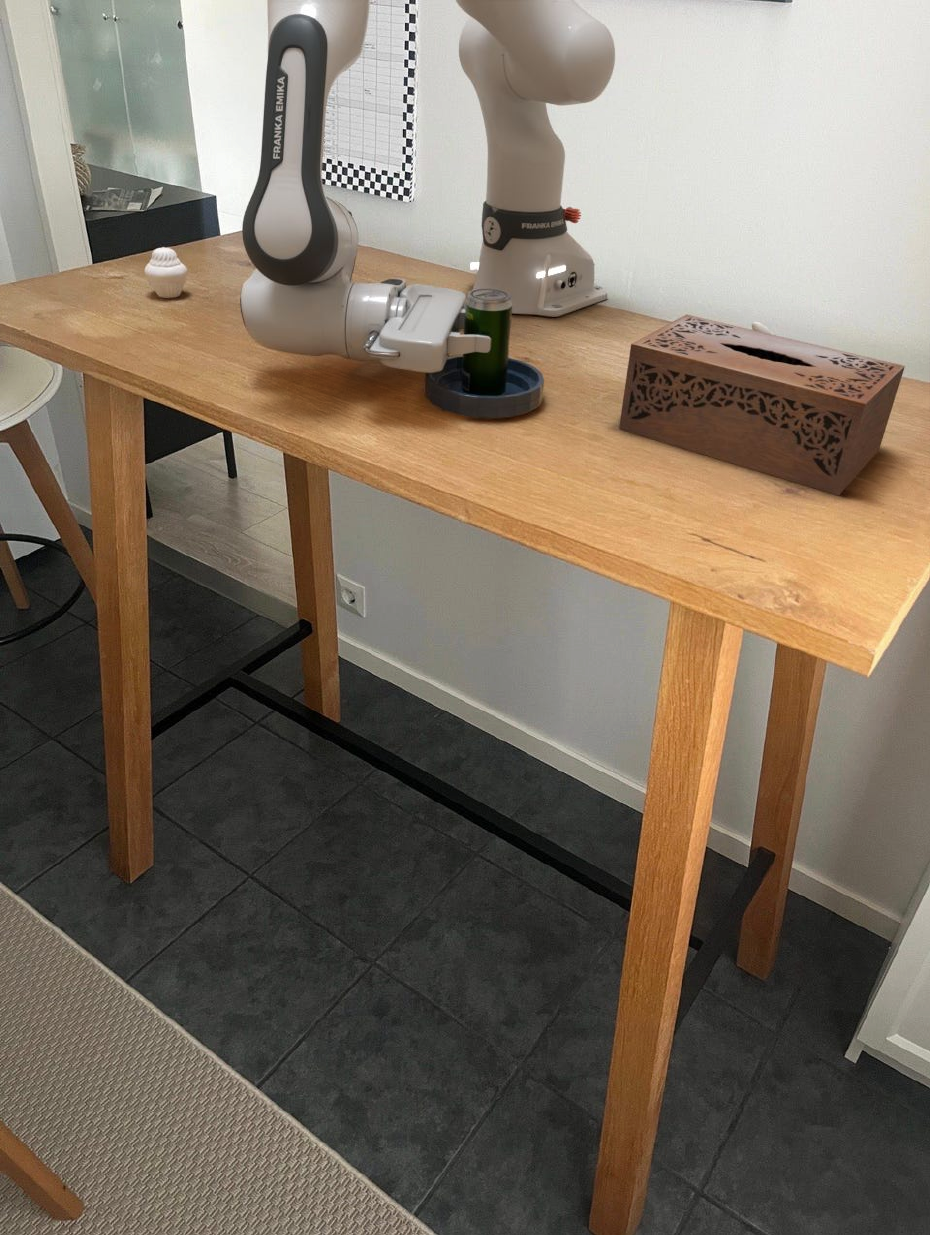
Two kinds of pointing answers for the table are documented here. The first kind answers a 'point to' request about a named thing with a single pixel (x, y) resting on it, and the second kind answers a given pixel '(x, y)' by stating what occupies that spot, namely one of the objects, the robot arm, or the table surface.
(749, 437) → the tissue box cover
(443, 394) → the bowl
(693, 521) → the table surface
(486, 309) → the beer can
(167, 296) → the muffin
